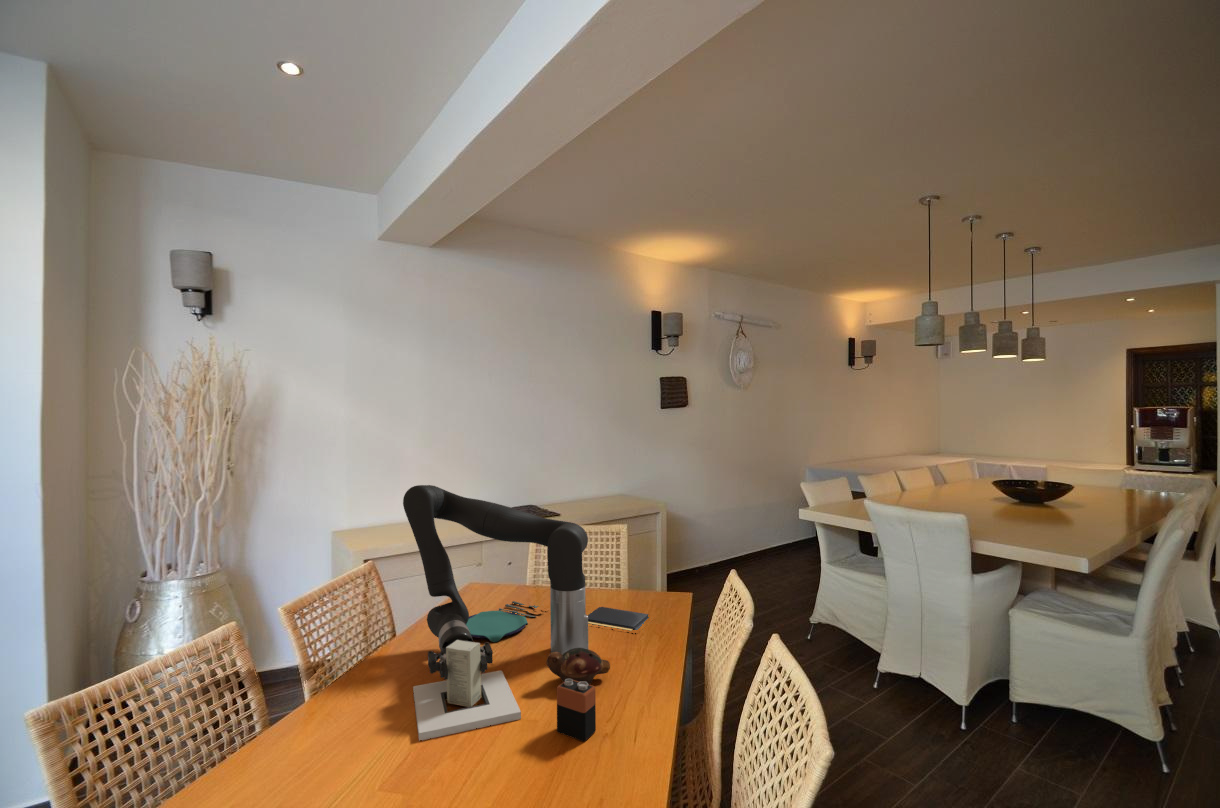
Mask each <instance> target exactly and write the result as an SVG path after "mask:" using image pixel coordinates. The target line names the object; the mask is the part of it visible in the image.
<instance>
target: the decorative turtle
mask: <svg viewBox="0 0 1220 808" xmlns="http://www.w3.org/2000/svg"><path fill="white" fill-rule="evenodd" d="M546 666H547V668H548V670H550V671H551V672H552V673H553V674H554V675H555V676H557V677H559V679H561V682H562V683H563V682H565V679H572V680H575V681H578V682H587V683H588V685H591V684H592V682H593V680H594V678H595V677H596V676H597V675H603V674H607V673H609V672H610V669H611V663H610V661H609V660H607V659H603V658H602V657H601V656H600V655H599V654H598V653H597V652H595V651H593V650H591V649H589V648H588V649H585V648H574V649H570V650H568V651H567V652H565V653H564V654H563V655H562V654H561V653H560V652H552V653H551V652H550V653H549V654H548V655H547V658H546Z"/></svg>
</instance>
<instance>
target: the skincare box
mask: <svg viewBox="0 0 1220 808" xmlns="http://www.w3.org/2000/svg"><path fill="white" fill-rule="evenodd" d="M480 647H481V643H480V642H475V641H474V642H470V641H462V640H456V641H455V642H453V643H452V644H450V645H449V646H447V647H446V664H447V668H448V679H446V680H447V700H446V701H447V702H446V704H451V705H456V706H462V707H465V708H467V707H472V706H475V704H476V703H478V702H479V701H480V699H482V696H481V674H482V673H481V661H480Z"/></svg>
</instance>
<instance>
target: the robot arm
mask: <svg viewBox="0 0 1220 808" xmlns="http://www.w3.org/2000/svg"><path fill="white" fill-rule="evenodd" d="M402 505H403V509H404V514H405V515H406V518H407V521H408V523H409V525H410V528H411V530H412V533H413V534H412V535H413V536H414V540H415V542H416V545H417V548H418V552H419V554H420V559H421V562H422V563H421V564H422V566H423V571H424V576H425V577H424V578H425V580H426V586H427V590H428V594H429V596H430V597H432V598H433V597H434V598H436V597H438V598H439V597H448V598H449V599H450V600H451V601H450V602H447V603H444V604H440V605H438V606H433V608H431V609H430V610H429V611H428V614H427V615H426V616H427V617H426V621H427V622H426V623H427V626H428V628H429V630H430V632H431V633H432V634H433V635H434V636H435V637H436V638H438V648H439V650H440V652H437V653H436V652H434V650H429V651H427V665H428V669H429V673H430V674H435V673H437V672H439V677H440V678H442V679H443V681H446V680H447V679H448V668H447V664H446V647H447V646H449V645H450V644H452V643H453V642H455V641H456V640H462V641H470V642H475V641H474V639H473V637H472V636H471V633H470V631H469V629H468V627H467V626H466V624H467V622H468V619H469V616H470V613H469V612H470V611H469V609H468V607H467V605H466V604H465V602H464V599H463V598H462V596H461V595H460V593H459V590H458V587H457V585H456V582H455V576H454V573H453V568H452V563H451V559H450V557H449V555H448V553H447V551H446V549H445V547H444V545H443V543H442V541H441V538H440V537H439V535H438V532H437V527H436V524H435V519H439V520H444V521H448V522H453V523H456V524H459V525H461V526H463V527H464V528H466V529H468V530H470V531H471V532H473V533H476V535H480V536H482V537H486V538H488V539H489V538H490V539H493V540H497V541H501V542H508V543H509V542H510V543H530V544H531V543H532V544H536V545H541V546H543V547H546V549H547V550H546V551H547V552H546V553H547V574H548V578H549V581H550V582H549V583H550V584H549V586H550V589H549V590H550V592H549V594H550V596H549V597H550V606H549V607H550V654H551V653H552V652H560V653H561V654H562V655H563V654H564V653H565V652H567V651H568V650H570V649H574V648H585V649H589V626H588V616H587V615H588V614H586V576H585V573H584V570H583V552H585V550H586V548H587V546H588V543H589V537H588V534H587V531H586V530H585V528H583V527H582V525H579V524H577V523H575V522H572V521H571V522H570V521H564V520H557V519H551V518H548V517H547V518H546V517H541V516H538V515H536V514H532V513H529V512H526V511H523V510H520V509H517V508H513V507H509V506H507V505H503V504H500V503H497V502H491V501H488V500H487V501H486V500H482V499H476V498H471V497H464V496H461V495H458V494H456V493H453V492H451V491H449V490H446V489H444V488H441V487H439V486H436V485H431V484H425V485H424V484H418V485H413V486H411V487H410V488H408V489H407V491H406V492H405V493H404V495H403V500H402ZM493 652H494V651H493V648H492V646H491V643H490V642H488V641H487V642H484V643H483V645H482V646H481V645H480V661H481V674H484V673H486V671H488V667H489V666H488V664H489V665H490V664H493V662H494V661H493Z"/></svg>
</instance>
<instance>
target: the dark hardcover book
mask: <svg viewBox="0 0 1220 808" xmlns="http://www.w3.org/2000/svg"><path fill="white" fill-rule="evenodd" d="M586 615H587V616H588V624H592V625H598V626H604V627H611V628H617V629H622V630H628V631H632V630H638V629H639V628H640V627H641V626H642V624H644V622H645V621H646V620H647V619H648V618H649V617H648V615H649V613H643V612H637V611H632V610H631V611H630V610H623V609H618V608H612V607H605V606H599V607H597V608H596V609H594V610H593V611H592V613H591V612H590V613H589V614H586Z"/></svg>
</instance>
